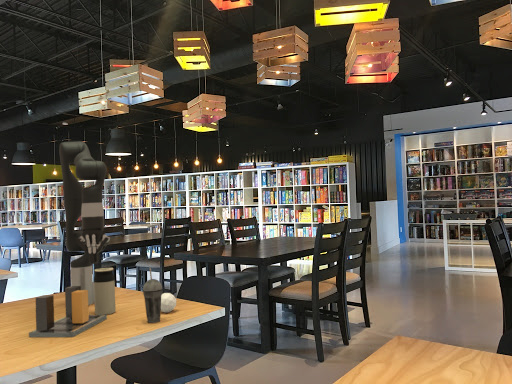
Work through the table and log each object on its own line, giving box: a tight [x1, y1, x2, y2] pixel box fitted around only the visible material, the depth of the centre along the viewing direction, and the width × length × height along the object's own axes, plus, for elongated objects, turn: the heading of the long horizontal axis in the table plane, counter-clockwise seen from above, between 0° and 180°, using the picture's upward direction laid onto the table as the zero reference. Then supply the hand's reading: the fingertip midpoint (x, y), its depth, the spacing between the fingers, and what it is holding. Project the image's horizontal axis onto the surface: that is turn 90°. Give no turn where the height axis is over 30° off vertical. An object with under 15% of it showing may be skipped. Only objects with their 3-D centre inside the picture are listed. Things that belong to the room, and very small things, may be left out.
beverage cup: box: [142, 267, 163, 324], centre depth 157 cm, size 7×7×20 cm
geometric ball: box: [161, 292, 177, 314], centre depth 171 cm, size 8×8×8 cm
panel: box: [28, 285, 108, 338], centre depth 153 cm, size 23×16×13 cm
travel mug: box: [93, 267, 116, 315], centre depth 173 cm, size 8×8×18 cm
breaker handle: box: [72, 290, 90, 323], centre depth 153 cm, size 4×4×11 cm
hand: (94, 263), depth 152 cm, fingers closed
